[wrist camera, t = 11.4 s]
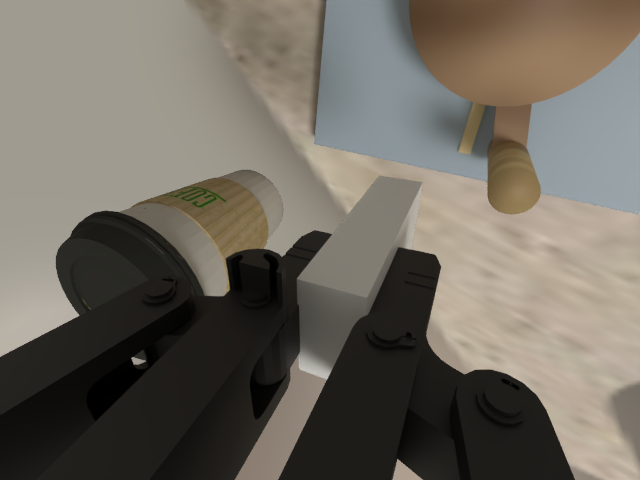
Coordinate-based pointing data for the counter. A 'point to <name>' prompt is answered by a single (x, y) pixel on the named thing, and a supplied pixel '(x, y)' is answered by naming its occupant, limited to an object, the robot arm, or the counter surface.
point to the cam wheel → (518, 67)
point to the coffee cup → (169, 239)
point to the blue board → (471, 111)
